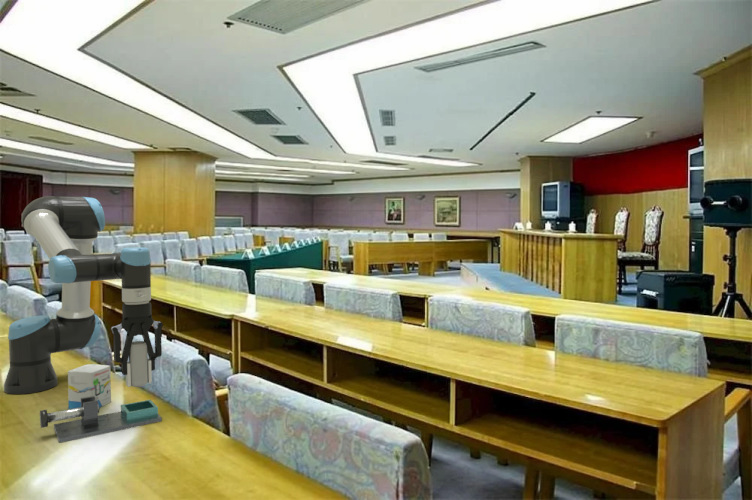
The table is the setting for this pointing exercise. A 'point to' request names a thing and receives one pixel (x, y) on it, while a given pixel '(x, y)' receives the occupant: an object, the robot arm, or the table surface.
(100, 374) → the ink box
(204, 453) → the table surface
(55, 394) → the table surface
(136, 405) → the bolt fixture plate
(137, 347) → the beverage can
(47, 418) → the shaft
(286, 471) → the table surface
